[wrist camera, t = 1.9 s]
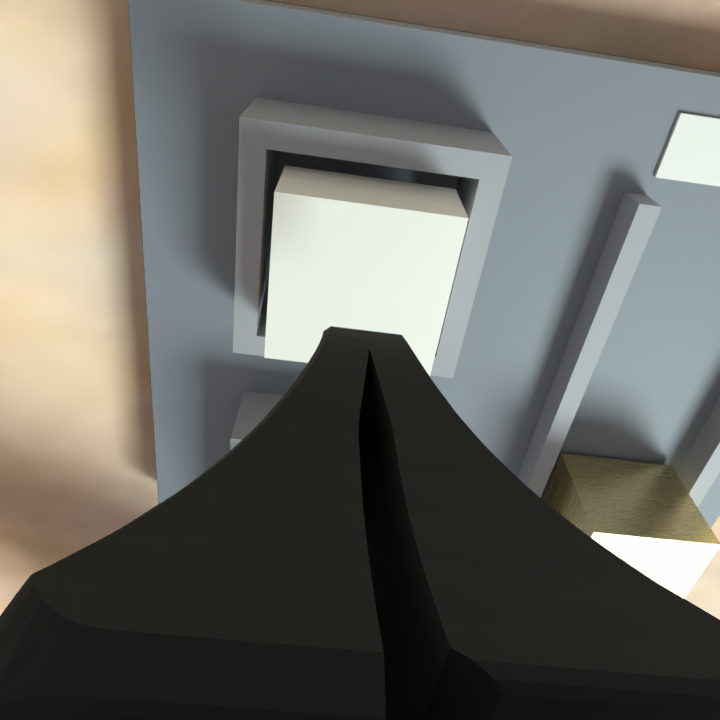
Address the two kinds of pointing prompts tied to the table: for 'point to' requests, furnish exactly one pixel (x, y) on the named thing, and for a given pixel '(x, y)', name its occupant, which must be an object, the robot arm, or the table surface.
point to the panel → (482, 236)
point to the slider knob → (635, 516)
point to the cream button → (360, 260)
